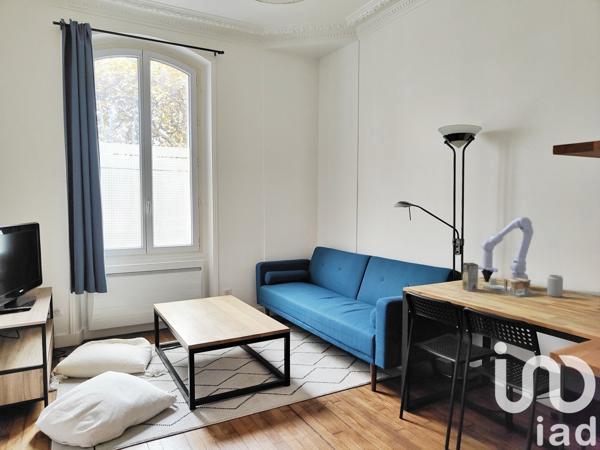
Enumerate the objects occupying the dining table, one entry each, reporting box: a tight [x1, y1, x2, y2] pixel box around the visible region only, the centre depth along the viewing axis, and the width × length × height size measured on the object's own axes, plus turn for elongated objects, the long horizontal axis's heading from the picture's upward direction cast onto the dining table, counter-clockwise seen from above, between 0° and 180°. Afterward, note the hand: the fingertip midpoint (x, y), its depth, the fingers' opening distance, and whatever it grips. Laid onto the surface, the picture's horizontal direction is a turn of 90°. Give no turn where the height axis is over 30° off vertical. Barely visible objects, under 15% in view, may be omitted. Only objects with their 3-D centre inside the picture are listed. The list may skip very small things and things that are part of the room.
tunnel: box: [503, 278, 531, 293], centre depth 248 cm, size 13×7×7 cm, turn 111°
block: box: [510, 282, 523, 291], centre depth 248 cm, size 4×4×4 cm
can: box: [546, 274, 564, 298], centre depth 241 cm, size 8×8×12 cm
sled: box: [488, 278, 525, 292], centre depth 255 cm, size 5×22×4 cm, turn 21°
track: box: [482, 283, 539, 298], centre depth 253 cm, size 14×27×2 cm, turn 21°
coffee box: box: [461, 262, 479, 292], centre depth 258 cm, size 9×6×16 cm
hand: (487, 282), depth 269 cm, fingers closed
